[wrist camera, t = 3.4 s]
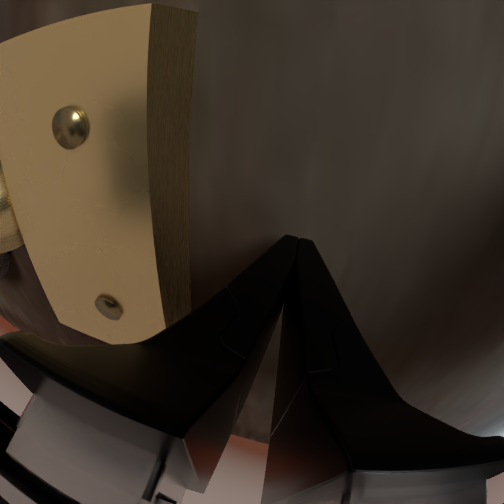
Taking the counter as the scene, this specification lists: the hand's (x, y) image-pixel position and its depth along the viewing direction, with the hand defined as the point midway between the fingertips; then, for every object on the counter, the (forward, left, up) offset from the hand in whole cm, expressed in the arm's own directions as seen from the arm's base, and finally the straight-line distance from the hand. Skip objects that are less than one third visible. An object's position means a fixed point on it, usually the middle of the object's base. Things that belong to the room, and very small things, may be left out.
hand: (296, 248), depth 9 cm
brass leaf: (+8, +5, -1) cm, 9 cm away
